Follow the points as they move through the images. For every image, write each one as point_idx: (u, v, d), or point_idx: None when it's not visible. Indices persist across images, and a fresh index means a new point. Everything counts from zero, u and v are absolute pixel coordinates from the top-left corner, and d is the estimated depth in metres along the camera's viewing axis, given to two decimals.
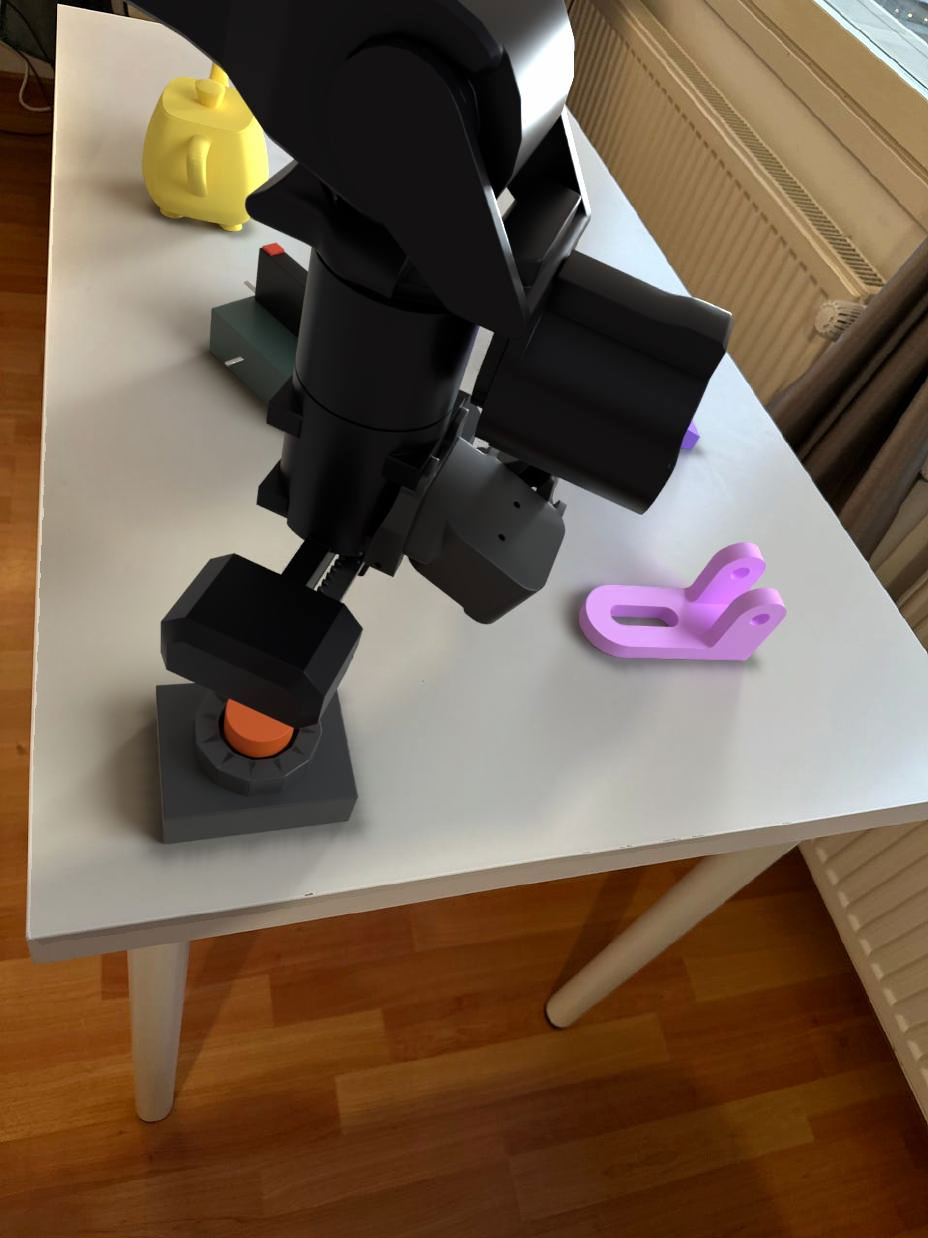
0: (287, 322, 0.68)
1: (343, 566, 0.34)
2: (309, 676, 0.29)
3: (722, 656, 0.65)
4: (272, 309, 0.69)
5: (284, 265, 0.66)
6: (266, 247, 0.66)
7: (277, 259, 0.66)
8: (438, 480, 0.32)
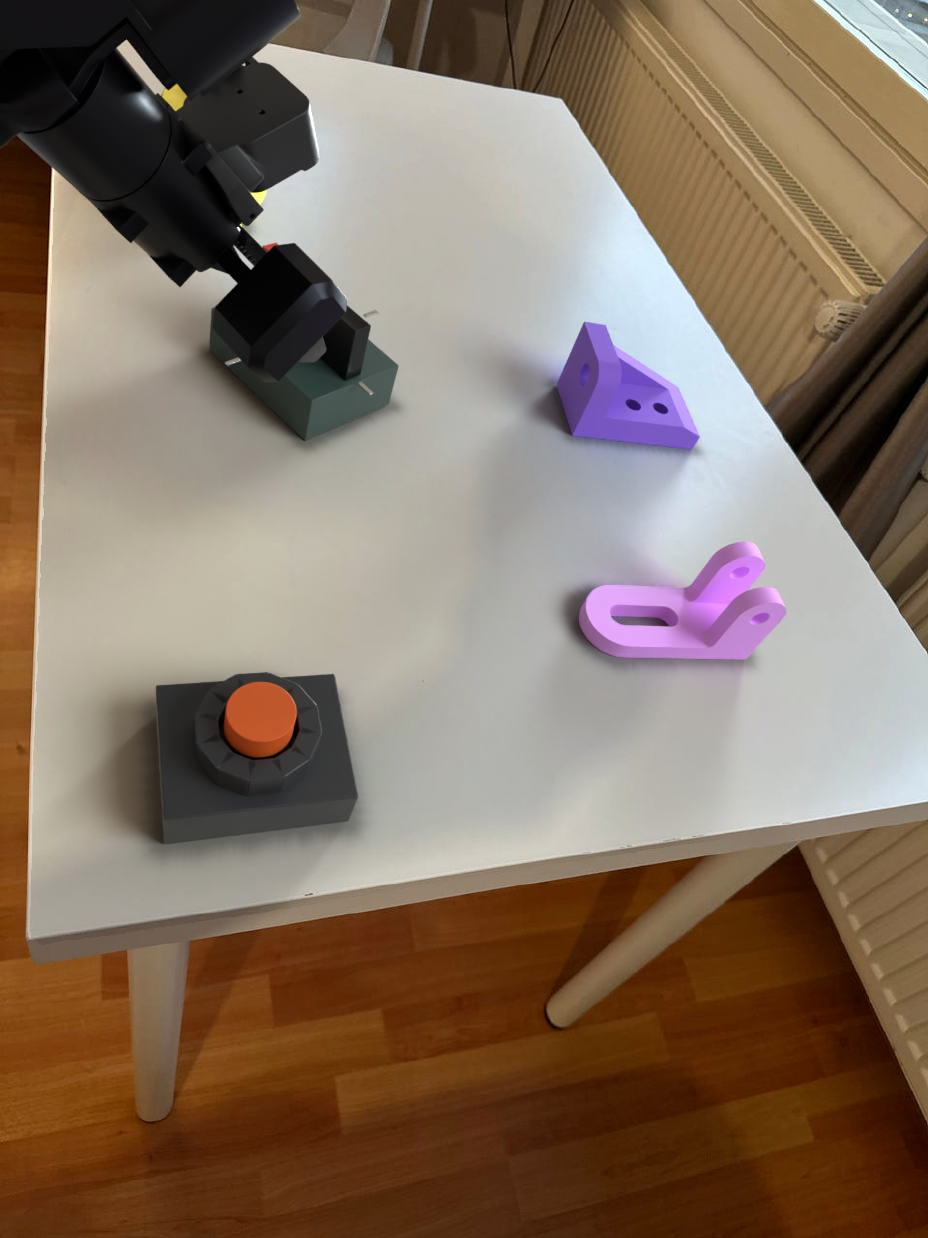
0: None
1: (244, 244, 0.47)
2: (316, 282, 0.44)
3: (722, 655, 0.65)
4: None
5: None
6: (266, 247, 0.66)
7: None
8: (206, 139, 0.43)
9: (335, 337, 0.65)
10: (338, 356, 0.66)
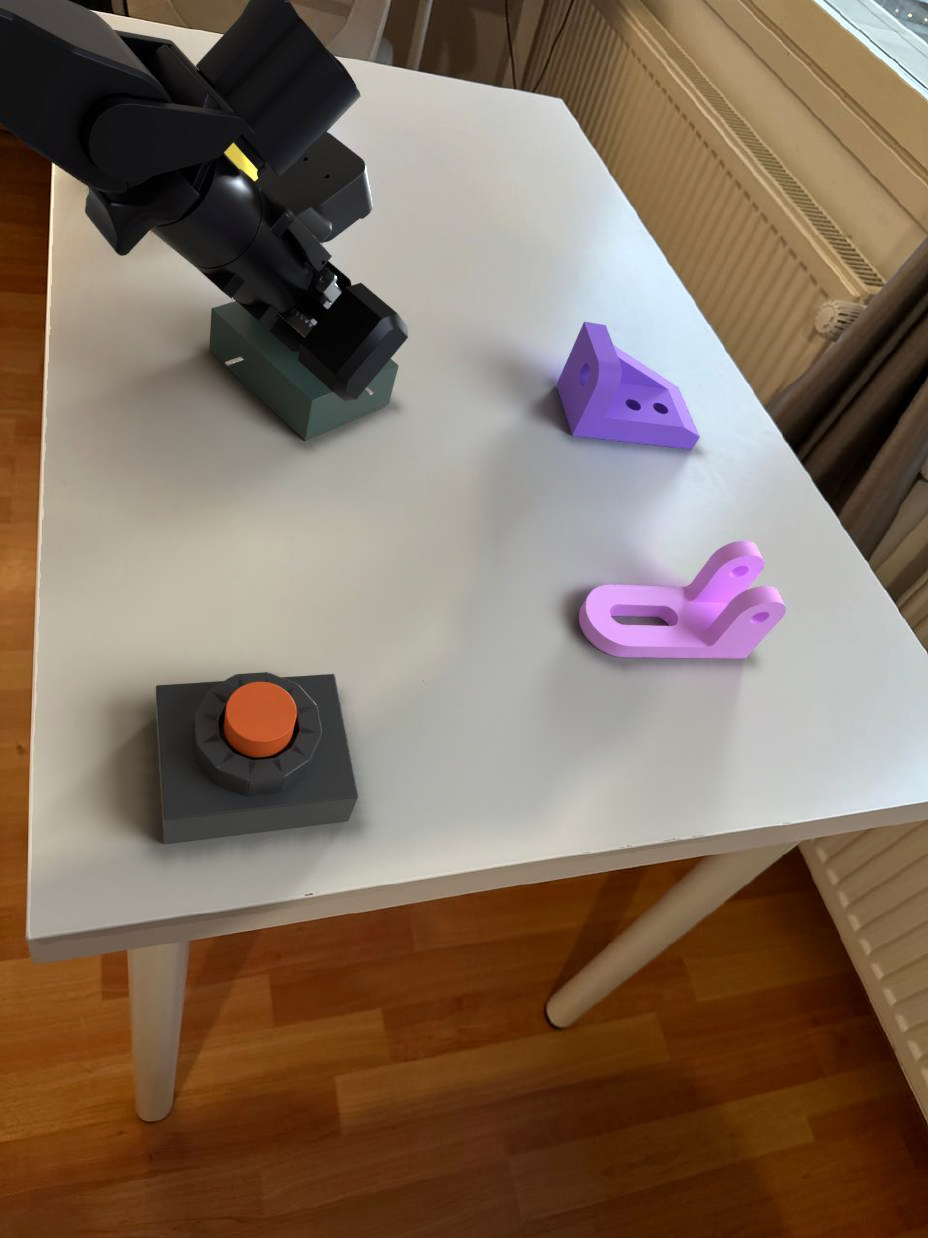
0: None
1: None
2: (385, 316, 0.53)
3: (722, 654, 0.65)
4: None
5: None
6: None
7: None
8: (284, 204, 0.52)
9: None
10: None
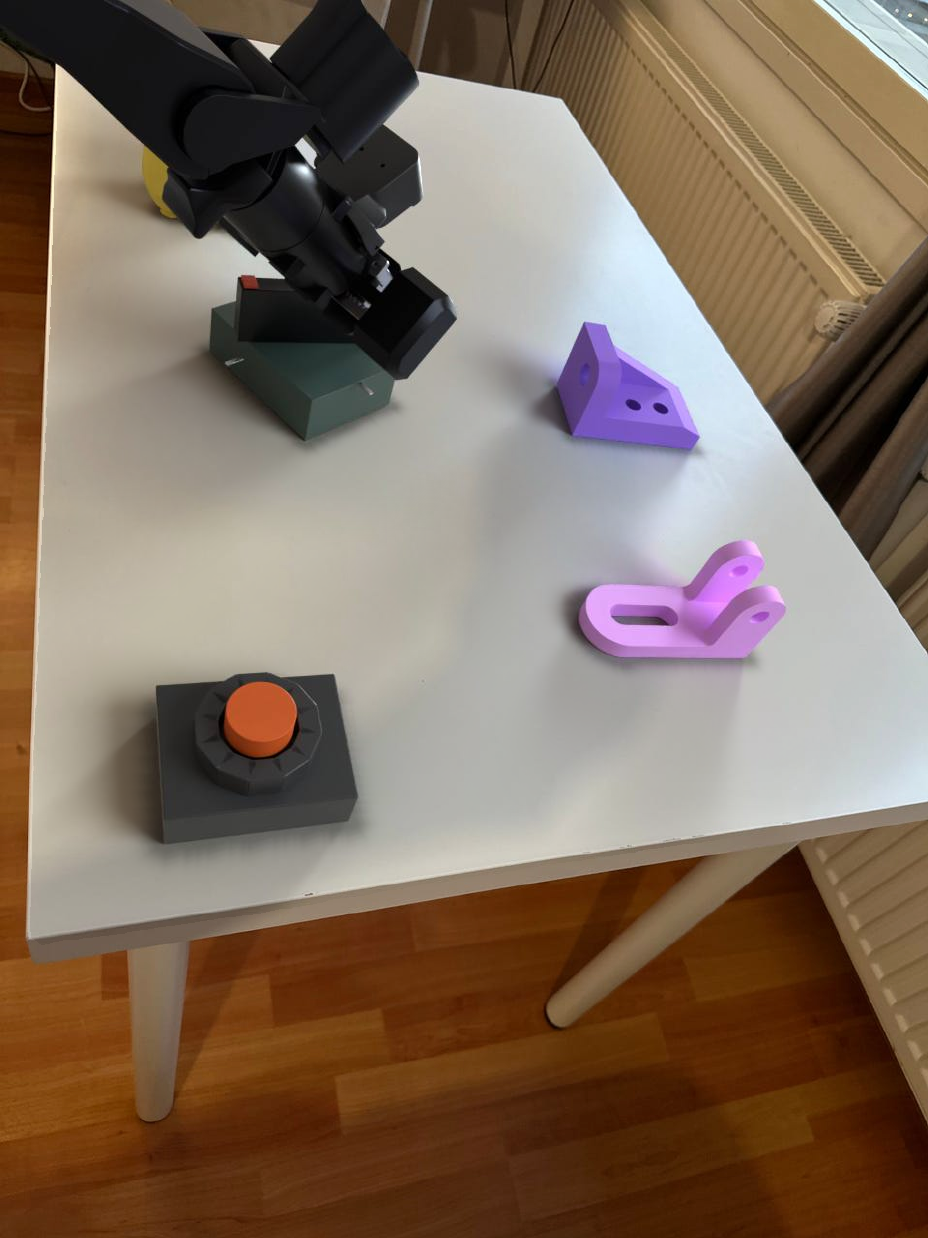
0: (292, 336, 0.67)
1: None
2: (437, 298, 0.55)
3: (722, 654, 0.65)
4: (267, 336, 0.66)
5: (277, 287, 0.64)
6: (248, 284, 0.63)
7: (265, 287, 0.63)
8: (343, 191, 0.54)
9: None
10: None
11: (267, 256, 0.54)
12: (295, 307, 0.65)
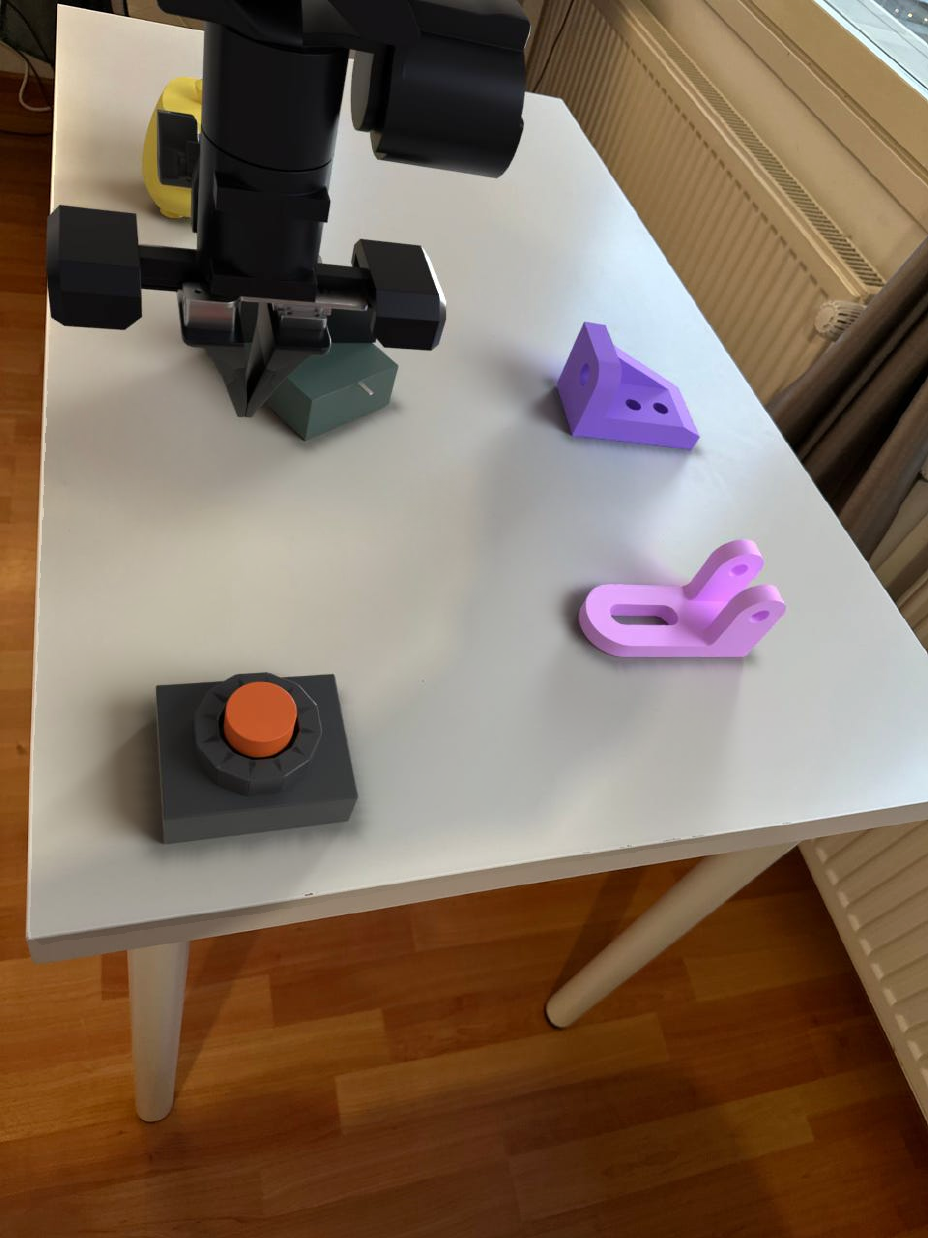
0: None
1: None
2: None
3: (722, 653, 0.65)
4: None
5: None
6: None
7: None
8: None
9: (360, 313, 0.68)
10: (365, 327, 0.69)
11: (293, 192, 0.38)
12: None
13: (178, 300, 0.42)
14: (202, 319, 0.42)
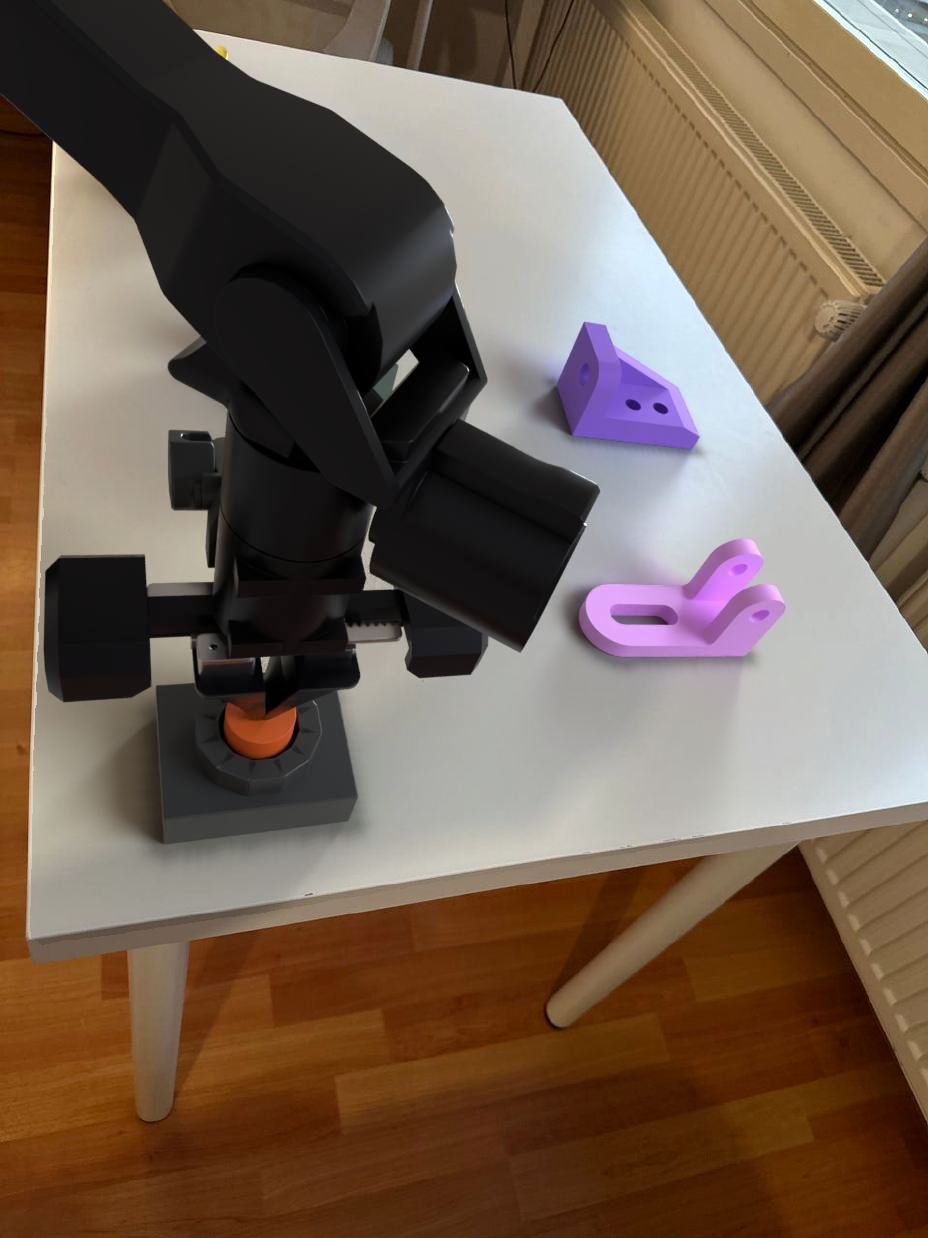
0: None
1: None
2: None
3: (722, 652, 0.65)
4: None
5: None
6: None
7: None
8: None
9: None
10: None
11: (324, 575, 0.33)
12: None
13: (191, 647, 0.38)
14: (218, 670, 0.38)
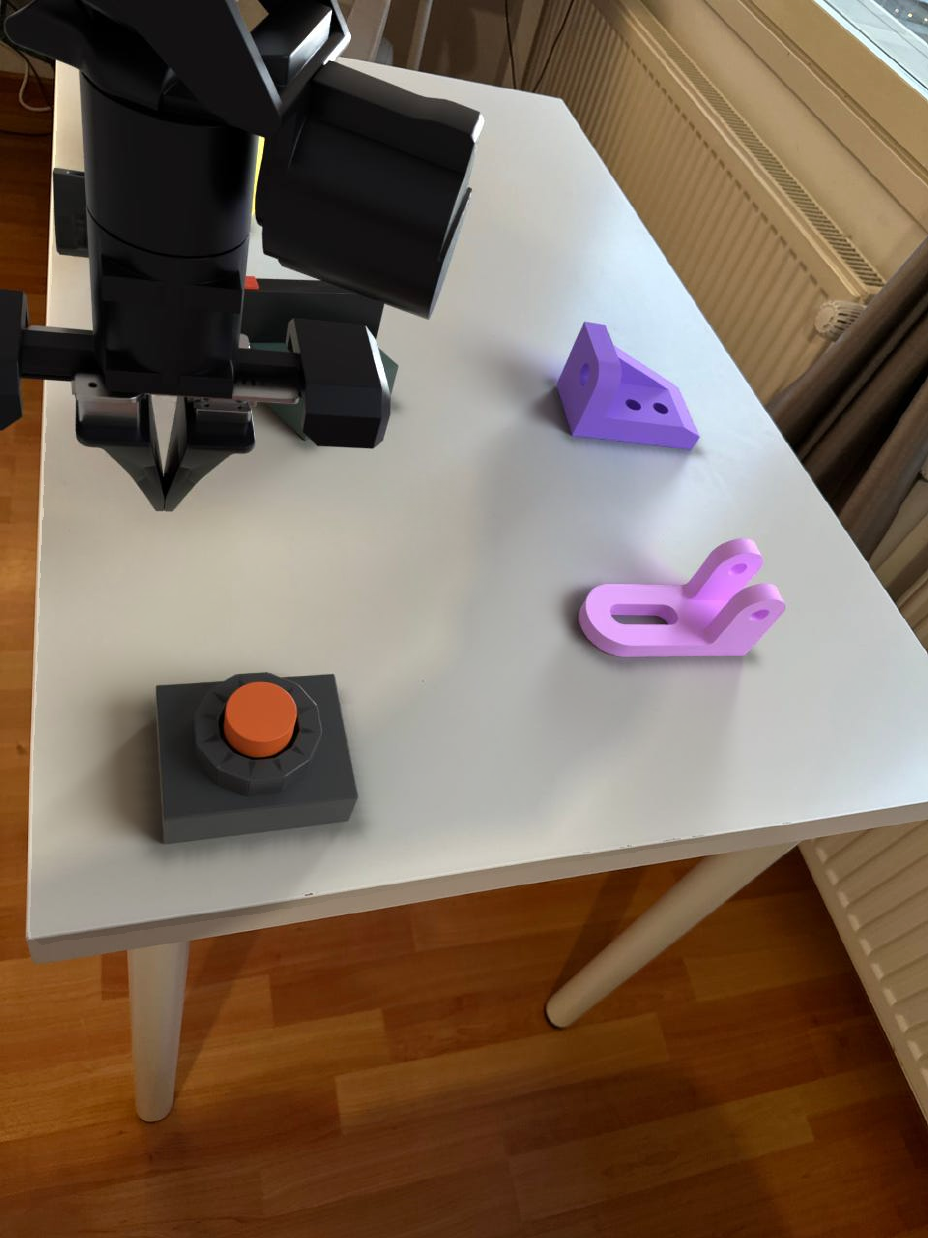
0: None
1: None
2: (363, 326, 0.41)
3: (721, 652, 0.65)
4: (268, 337, 0.66)
5: (277, 288, 0.64)
6: (248, 285, 0.63)
7: (265, 288, 0.63)
8: None
9: (360, 313, 0.68)
10: None
11: (196, 280, 0.31)
12: (295, 307, 0.65)
13: (73, 392, 0.36)
14: (99, 415, 0.36)
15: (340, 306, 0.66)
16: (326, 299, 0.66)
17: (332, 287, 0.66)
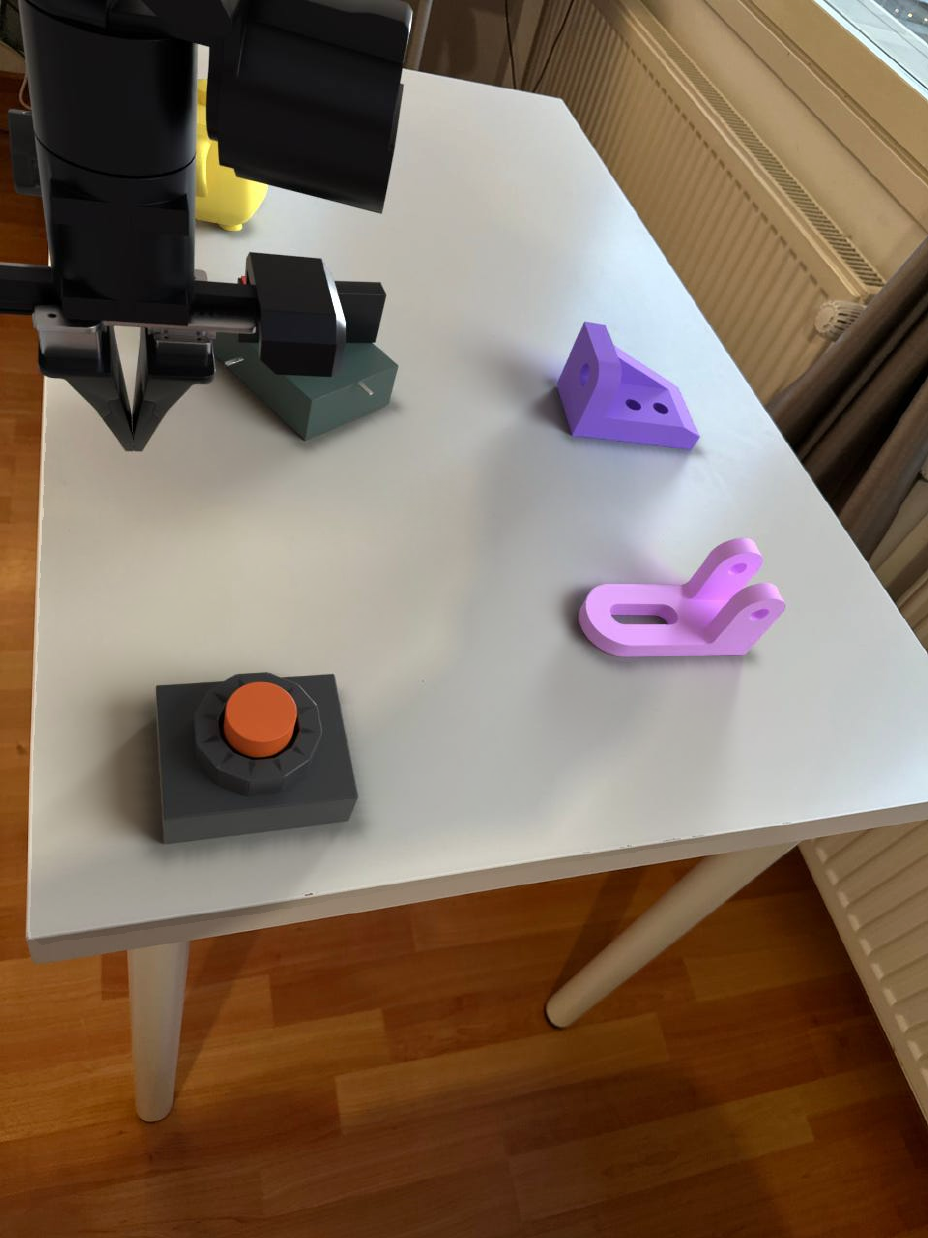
0: None
1: None
2: (319, 259, 0.42)
3: (721, 651, 0.65)
4: None
5: None
6: None
7: None
8: None
9: (360, 313, 0.68)
10: (365, 327, 0.69)
11: (143, 201, 0.32)
12: None
13: (34, 325, 0.37)
14: (61, 346, 0.37)
15: None
16: None
17: None
